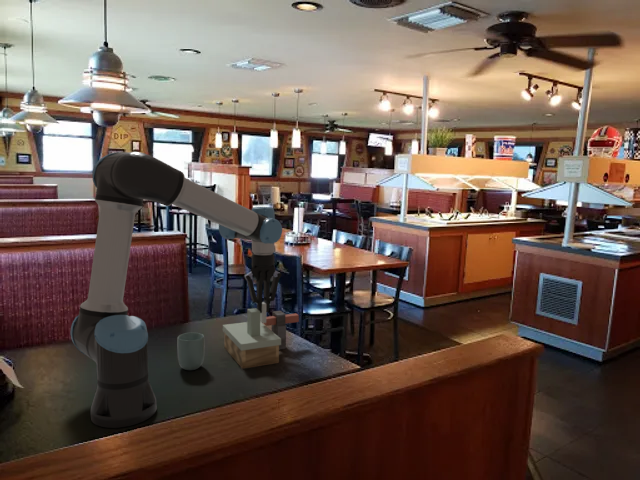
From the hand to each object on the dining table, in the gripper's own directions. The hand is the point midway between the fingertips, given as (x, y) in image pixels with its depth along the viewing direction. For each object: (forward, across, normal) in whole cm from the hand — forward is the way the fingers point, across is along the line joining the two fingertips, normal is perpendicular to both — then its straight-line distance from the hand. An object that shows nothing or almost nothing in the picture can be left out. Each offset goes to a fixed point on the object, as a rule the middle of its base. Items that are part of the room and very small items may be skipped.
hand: (262, 321), depth 166 cm
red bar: (+1, -7, 0) cm, 7 cm away
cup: (+10, +26, +7) cm, 28 cm away
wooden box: (+10, +2, +4) cm, 11 cm away
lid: (+5, +6, +4) cm, 9 cm away
